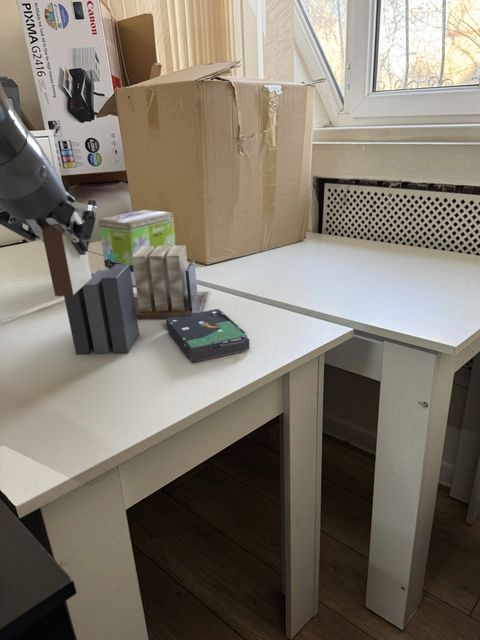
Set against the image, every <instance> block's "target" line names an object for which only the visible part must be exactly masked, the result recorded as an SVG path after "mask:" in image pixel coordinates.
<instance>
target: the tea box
mask: <svg viewBox="0 0 480 640" xmlns="http://www.w3.org/2000/svg"><path fill="white" fill-rule="evenodd" d="M98 227H99V233H100V240H101V249H102V255H103V262H104V270H110V269H111V268H112V267H113V266H114V265H115V264H129V265H130V272H131V279H132V286H133V287H136V282H135V275H134V268H133V260H132V256H133V255H134V254H135V253H136V252H137V251H138V250H139V249H140V248H141V247H142V246H154V250H155V249H156V248H157V247H158V246H170V250H171V249H172V247H173V246H176V234H175V222H174V213H173V212H171V211H170V212H169V211H159V210H151V209H150V210H149V209H142V210H136V211H132V212H131V211H130V212H127V213H122V214H118V215H113V216H108V217H103V218H99V219H98Z"/></svg>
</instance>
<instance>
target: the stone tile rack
mask: <svg viewBox="0 0 480 640" xmlns="http://www.w3.org/2000/svg"><path fill="white" fill-rule="evenodd" d="M175 245H176V244H175ZM132 260H133V268H134V275H135V282H136V286H135V288H136V294H137V295H136V296H135V295H134V300H135V307H136V314H137V321H138V320H166V318H170V317H176V316H178V317H180V318H184V317H186V316H187V315H189V314H192V313H198V312H203V311H202V310H203V308H204V305H205V302H206V300H207V299H206V298H207V297H206V294H198V284H197V273H196V263H195V261H196V260H195V259H191V260H190V262H189V264H188V256H187V246H186V244H182V245H181V244H180V245H178V244H177V245H176V246H173V247H172V249H171V250H170V246H158V247H157V248H156V249H155V250H154V246H142V247H141V248H140V249H139V250H138V251H137V252H136V253H135V254H134V255H133V256H132Z"/></svg>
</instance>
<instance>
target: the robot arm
mask: <svg viewBox="0 0 480 640" xmlns="http://www.w3.org/2000/svg"><path fill="white" fill-rule="evenodd" d="M26 126H27V125H25V124H24V122H23V120H22V118H21V117H20V116H19V114H18V112H17V111H16V109H15V108H14V106H13V104H12V103H11V101H10V99H9V98H8V96H7V93H6V92H5V90H4V88H3V84H2V83H1V82H0V225H1V226H3V227H4V228H6V229H8V230H10V231H11V232H14V233H15V234H16V235H19V236H20V237H22V238H24V239H25V240H27V241H31V242H35V241H36V240H37V239H38V240H40V241H41V242H42V243H44V240H43V235H42V232H43V227H42V226H53V227H54V228H55V229H56V230H57V231H58V232H61V233H62V235H66V236H67V237H68V239H69V240H70V241H71V243H72V244H73V246H74V247H75V248H76V250H77V251H78V253H79V254H80V255H86V252H87V253H88V252H89V245H90V240H91V238H92V234H93V231H94V227H95V223H96V219H97V213H98V212H97V211H98V204H99V203H98V202H97V200H95V199H89V200H88V201H87V202H86V203H83V202H79V201H76V199H75V197H74V196H73V195H71V194H69V192H68V191H67V190H66V189H65V186H64V183H63V181H62V179H61V177H60V175H59V174H58V172H57V171H56V169H55V167H54V165H53V164H52V163H51V161H50V159H49V158H48V156H47V154H46V153H45V151H44V150H43V147H42V146H41V145H40V143H39V141H38V139H36V137H35V136H34V134H33V133H31V131H30V130H29V129H28V128H27V127H26ZM74 212H76V213H78V214H79V217H80V218H81V221H82V224H80V223H79V222H78V221H77V220H76V219H75V216H74ZM24 225H25V226H27V228H25V227H24Z"/></svg>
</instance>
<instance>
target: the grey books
mask: <svg viewBox="0 0 480 640" xmlns="http://www.w3.org/2000/svg"><path fill="white" fill-rule="evenodd" d="M91 277H92V278H91V279H90V280H89V281H88V282H87V283H86V284H85V285H84V286H83V287H82V288H81V289H79V290H78V291H77V292H76V293H75V294H74V295H73V296H63V298H64V304H65V307H66V312H67V318H68V322H69V327H70V333H71V337H72V342H73V346H74V347H73V348H74V352H75V354H76V355H90V354H91V353H92V352H93V351H94V354H95V355H97V354H98V355H100V354H101V355H105V354H110V353H111V352H112V350H113V354H129V352H130V351H131V349H132V348H133V346H134V344H135V342H136V341H137V339H138V337H139V335H140V329H139V322H138V320H137V314H136V307H135V300H134V296H135V295H134V293H135V292H134V286H132V279H131V272H130V265H129V264H115V265H114V266H113V267H112V268H111V269H110V270H105V269H98V270H97V271H96V272H95V273H92V272H91Z"/></svg>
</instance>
